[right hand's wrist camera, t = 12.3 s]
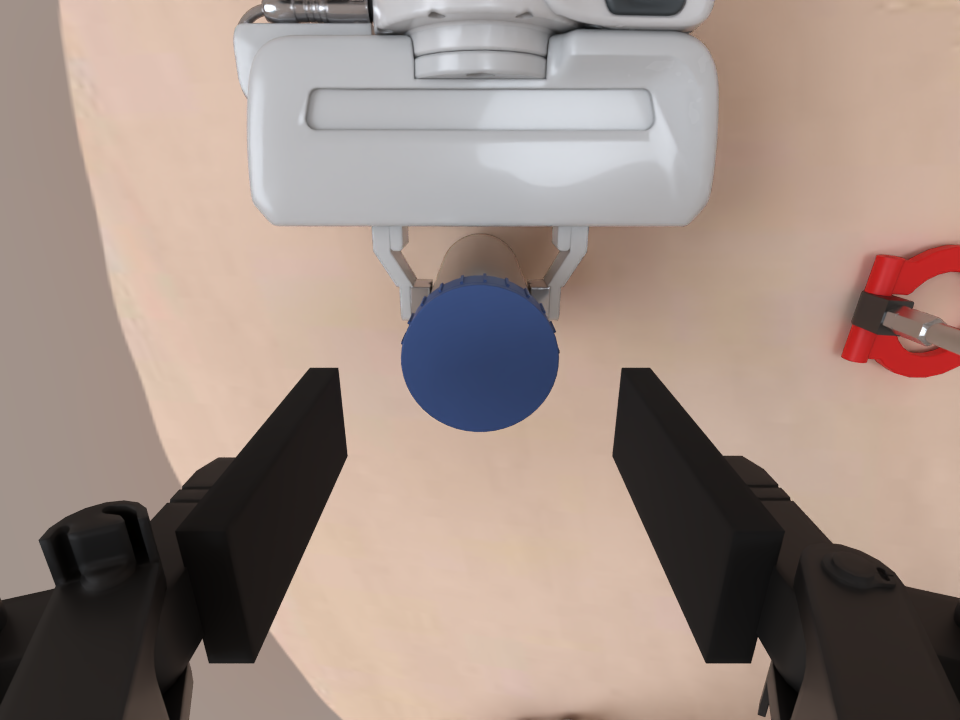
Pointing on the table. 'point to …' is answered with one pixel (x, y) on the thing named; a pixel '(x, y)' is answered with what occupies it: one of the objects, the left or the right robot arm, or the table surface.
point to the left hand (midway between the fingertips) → (480, 317)
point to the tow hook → (904, 316)
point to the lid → (479, 353)
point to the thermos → (479, 260)
